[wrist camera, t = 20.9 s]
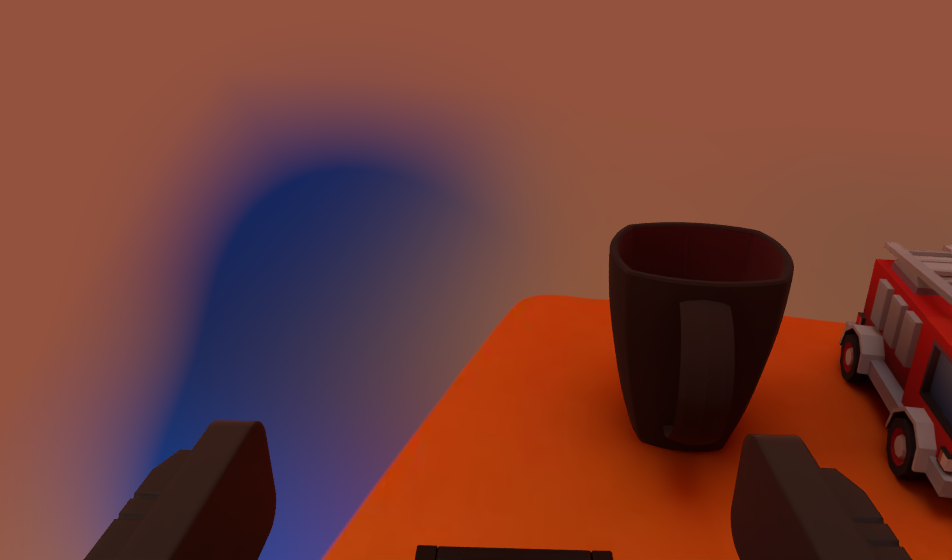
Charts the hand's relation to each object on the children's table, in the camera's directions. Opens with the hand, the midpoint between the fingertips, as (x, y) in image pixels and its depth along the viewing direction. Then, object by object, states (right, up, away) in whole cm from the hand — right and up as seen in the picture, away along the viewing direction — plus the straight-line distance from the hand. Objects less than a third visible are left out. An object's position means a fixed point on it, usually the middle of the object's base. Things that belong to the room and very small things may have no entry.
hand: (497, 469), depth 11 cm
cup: (+12, -7, +30) cm, 33 cm away
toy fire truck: (+29, -6, +31) cm, 43 cm away
